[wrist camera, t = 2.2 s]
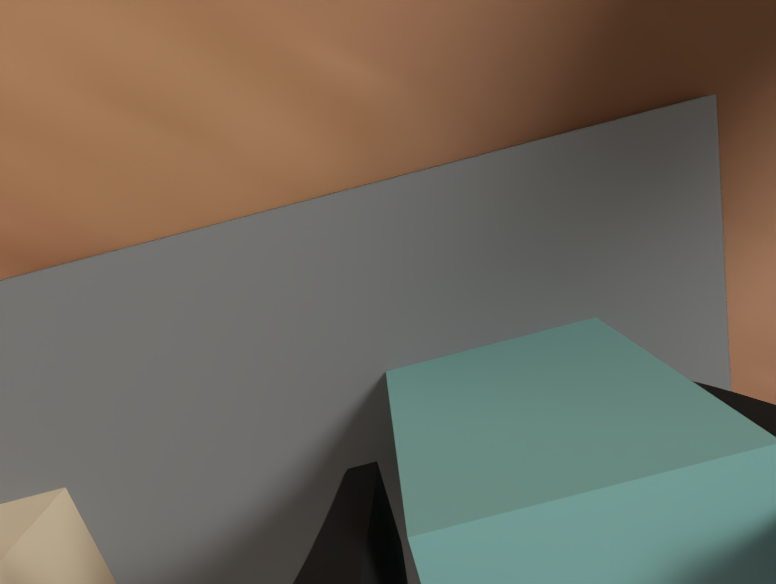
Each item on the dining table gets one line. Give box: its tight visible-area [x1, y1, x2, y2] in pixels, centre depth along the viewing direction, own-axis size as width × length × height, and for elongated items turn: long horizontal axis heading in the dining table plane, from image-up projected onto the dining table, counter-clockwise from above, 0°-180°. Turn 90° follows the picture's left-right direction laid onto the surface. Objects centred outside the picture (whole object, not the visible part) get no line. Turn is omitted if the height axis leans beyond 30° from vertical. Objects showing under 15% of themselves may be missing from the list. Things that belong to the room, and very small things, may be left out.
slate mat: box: [0, 94, 731, 584], centre depth 11 cm, size 14×23×1 cm, turn 104°
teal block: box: [386, 317, 776, 584], centre depth 8 cm, size 4×4×4 cm
